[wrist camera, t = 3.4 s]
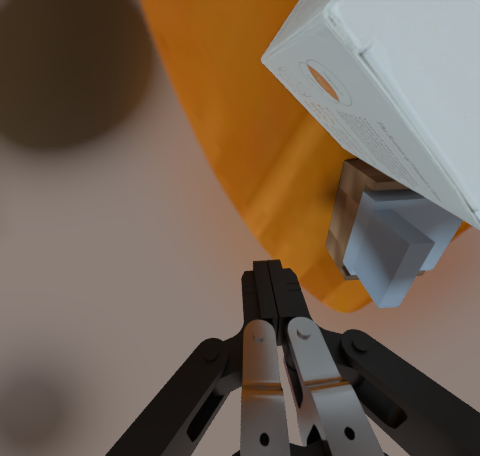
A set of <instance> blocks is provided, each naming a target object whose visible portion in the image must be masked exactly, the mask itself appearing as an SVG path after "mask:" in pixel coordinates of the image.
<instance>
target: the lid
mask: <svg viewBox="0 0 480 456" xmlns="http://www.w3.org/2000/svg"><path fill="white" fill-rule="evenodd" d="M462 221H463V220H462V219H460V218H459V217H457V216H455V215H454V214H452V213H450V212H449V211H447V210H445V209H444V208H442V207H440V206H439V205H437V204H435V203H434V202H432V201H430V200H429V199H427V198H425V197H424V196H422V195H421V194H419V193H417V192H415V191H413V190H412V189H396V190H380V191H364V192H363V194H362V198H361V201H360V204H359V208H358V211H357V215H356V218H355V221H354V225H353V228H352V232H351V235H350V238H349V242H348V245H347V249H346V252H345V255H344V259H343V263H344V265H345V267H346V268H347V270H348V271H349V273H350V275H357V276H358V278H359V279H360V281H361V282H362V284H363V285H364V287H365V288H366V290H367V291H368V293H369V294H370V296H371V298H372V299H373V301H374V302H375V303H376V305H377V306H378V308H386V307H398V306H399V305H400V303H401V301H402V300H403V298H404V296H405V294H406V293H407V291H408V289H409V287H410V286H411V284H412V282H413V281H414V279H415V277H416V275H417V274H418V272H419V271H423V270H432V269H433V268H434V266H435V265H436V263H437V261H438V260H439V258H440V257H441V255H442V253H443V252H444V250H445V249H446V247H447V245H448V244H449V242H450V241H451V239H452V237H453V236H454V234H455V233H456V231H457V229H458V228H459V226H460V225H461V223H462Z"/></svg>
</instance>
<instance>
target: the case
mask: <svg viewBox="0 0 480 456" xmlns="http://www.w3.org/2000/svg"><path fill="white" fill-rule="evenodd" d="M396 189H410V188H408V187H406V186H405V185H403V184H401V183H400V182H398V181H396V180H395V179H393V178H391V177H389V176H388V175H386V174H384V173H383V172H381V171H380V170H378V169H376V168H374V167H373V166H371V165H369V164H368V163H366V162H365V161H363V160H361V159H357V160H344V164H343V169H342V173H341V178H340V182H339V187H338V191H337V196H336V200H335V205H334V209H333V214H332V218H331V223H330V228H329V232H328V237H327V241H326V246H325V247H326V248H327V250H328V252H329V253H330V255H331V257H332V259H333V260H334V262H335V264H336V265H337V267H338V269H339V270H340V272H341V274H342V276H343V277H344V279H345V281H346V280H360V279H359V278H358V276H357V275H350V273H349V271H348V270H347V268H346V267H345V265H344V263H343V259H344V255H345V252H346V249H347V245H348V242H349V238H350V235H351V232H352V228H353V225H354V221H355V218H356V215H357V211H358V208H359V204H360V201H361V198H362V194H363V192H364V191H380V190H396ZM424 272H425V270H423V271H419V272H418V274H417V275H416V276H421V275H423V274H424Z"/></svg>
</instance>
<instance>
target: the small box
mask: <svg viewBox="0 0 480 456" xmlns="http://www.w3.org/2000/svg"><path fill="white" fill-rule="evenodd" d="M261 62H262V63H263V64H264V65H265V66H266V67H267V68H268V69H269V70H270V71H271V72H272V73H273V74H274V75H275V77H276V78H277V79H278V80H279V81H280V82H281V83H282V84H283V85H284V86H285V87H286V88H287V89H288V90H289V91H290V92H291V93H292V94H293V96H294V97H295V98H296V99H297V100H298V101H299V102H300V103H301V104H302V105H303V106H304V107H305V108H306V109H307V110H308V111H309V112H310V113H311V114H312V116H313V117H314V118H315V119H316V120H317V121H318V122H319V123H320V124H321V125H322V126H323V127H324V128H325V129H326V130H327V131H328V132H329V133H330V135H331V136H332V137H333V138H334V139H335V140H336V141H337V142H338V143H339V144H340V145H341V147H342V148H344V149H345V150H347V151H348V152H350V153H352V154H353V155H355V156H356V157H358V158H360V159H361V160H363V161H365V162H366V163H368V164H369V165H371V166H373V167H374V168H376V169H378V170H380V171H381V172H383V173H384V174H386V175H388V176H389V177H391V178H393V179H395V180H396V181H398V182H400V183H401V184H403V185H405V186H406V187H408V188H410V189H412V190H413V191H415V192H417V193H419V194H421V195H422V196H424V197H425V198H427V199H429V200H430V201H432V202H434V203H435V204H437V205H439V206H440V207H442V208H444V209H445V210H447V211H449V212H450V213H452V214H454V215H455V216H457V217H459V218H460V219H462V220H464V221H465V222H467V223H469V224H470V225H472V226H473V227H475V228H477V229H478V230H480V0H299V2H298V3H297V4H296V6H295V7H294V9H293V10H292V12H291V13H290V15H289V16H288V18H287V19H286V21H285V22H284V24H283V25H282V27H281V28H280V30H279V32H278V33H277V35H276V36H275V38H274V39H273V41H272V42H271V44H270V45H269V47H268V48H267V50H266V51H265V53H264V54H263V56H262V57H261Z"/></svg>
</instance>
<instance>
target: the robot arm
mask: <svg viewBox="0 0 480 456" xmlns="http://www.w3.org/2000/svg"><path fill="white" fill-rule="evenodd" d="M241 281H242V296H243V297H242V298H243V312H244V324H243V327H242V329H241V331H240V332H239V333H238V334H237V335H235V336H234V337H232V338H230V339H228V340H225V341H222V340H220V339H218V338H209V339H206V340H205V341H203V342H201V343H200V345H199V346H198V347H197V348H196V349H195V350H194V351H193V353H192V354H191V355H190V356H189V357H188V359H187V360H186V361H185V362H184V363H183V364H182V366H181V367H180V368H179V369H178V370H177V371H176V373H175V374H174V375H173V376H172V377H171V379H170V380H169V381H168V382H167V384H165V386H164V387H163V388H162V389H161V390H160V392H159V393H158V394H157V395H156V396H155V397H154V399H153V400H152V401H151V402H150V403H149V404H148V406H147V407H146V408H145V409H144V410H143V412H142V413H141V414H140V415H139V416H138V417H137V419H136V420H135V421H134V422H133V423H132V425H131V426H130V427H129V428H128V429H127V431H126V432H125V433H124V434H123V435H122V436H121V438H120V439H119V440H118V441H117V442H116V443H115V445H114V446H113V447H112V448H111V449H110V451H109V452H108V453H107V454H106V455H105V456H191V454H192V453H193V451H194V450H195V448H196V446H197V445H198V443H199V441H200V440H201V438H202V437H203V435H204V434H205V432H206V430H207V429H208V427H209V426H210V424H211V422H212V421H213V419H214V418H215V416H216V414H217V413H218V411H219V410H220V408H221V406H222V405H223V403H224V402H225V400H226V398H227V397H228V395H229V394H230V392H231V391H233V390H235V389H237V388H239V387H241V386H242V394H241V395H242V396H241V436H240V450H239V451H238V452H236V453H235V454H233V455H232V456H388V455H387V454H386V453H384V452H383V451H382V449H381V447H380V445H379V442H378V440H377V438H376V436H375V434H374V432H373V430H372V428H371V425H370V423H369V421H368V419H367V417H366V415H367V416H368V417H370V418H371V419H372V420H373V421H374V422H375V423H376V424H377V425H378V426H379V427H380V428H381V429H383V431H385V432H386V433H387V434H388V435H389V436H390V437H391V438H392V439H393V440H394V441H395V442H397V444H398V445H400V446H401V447H402V448H403V449H404V450H405V451H406V452H407V453H408V454H409V455H410V456H480V413H479V412H478V411H476V410H475V409H473V408H472V407H470V406H469V405H468V404H466V403H465V402H463V401H462V400H461V399H459V398H458V397H456V396H455V395H453V394H452V393H451V392H449V391H447V390H446V389H445V388H443V387H442V386H441V385H439V384H437V383H436V382H435V381H433V380H432V379H430V378H429V377H427V376H426V375H425V374H423V373H422V372H420V371H419V370H418V369H416V368H415V367H413V366H412V365H410V364H409V363H408V362H406V361H405V360H403V359H402V358H401V357H399V356H398V355H396V354H395V353H393V352H392V351H390V350H389V349H388V348H386V347H385V346H383V345H382V344H380V343H379V342H378V341H376V340H375V339H373V338H372V337H370V336H369V335H368V334H366V333H364V332H362V331H360V330H355V329H351V330H347V331H346V332H344V333H343V334H339V333H335V332H331V331H328V330H324V329H323V328H321V327H319V326H318V325H317V324H316V323H314V321H313V320H312V318H311V316H310V314H309V311H308V308H307V305H306V302H305V299H304V296H303V294H302V291H301V288H300V285H299V282H298V279H297V276H296V274H295V273H294V272H293V271H292V270H291V269H290V268H286V269H283V268H282V265H281V262H280V260H267V261H253V271H245V272H244V274H243V276H242V279H241ZM281 345H282V347H283V352H284V366H285V370H286V373H287V377H288V381H289V384H290V388H291V392H292V395H293V400H294V403H295V407H296V412H297V421H298V427H299V432H300V436H301V440H302V444H303V446H298V445H294V444H291V443H289V437H288V428H287V419H286V411H285V401H284V395H283V389H282V387H281V381H280V372H279V364H278V354H277V346H281ZM365 414H366V415H365Z"/></svg>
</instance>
